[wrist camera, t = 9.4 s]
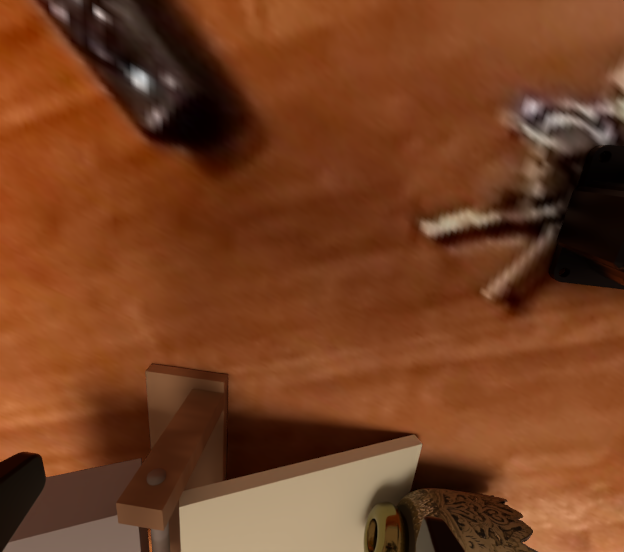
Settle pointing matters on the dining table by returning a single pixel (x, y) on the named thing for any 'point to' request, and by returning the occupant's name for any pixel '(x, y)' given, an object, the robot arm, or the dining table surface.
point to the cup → (456, 513)
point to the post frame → (177, 449)
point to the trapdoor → (230, 506)
